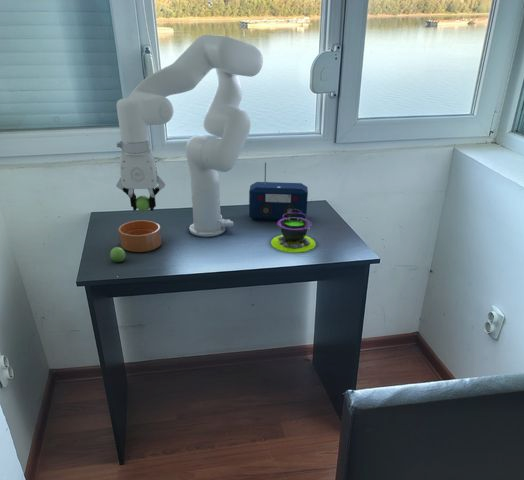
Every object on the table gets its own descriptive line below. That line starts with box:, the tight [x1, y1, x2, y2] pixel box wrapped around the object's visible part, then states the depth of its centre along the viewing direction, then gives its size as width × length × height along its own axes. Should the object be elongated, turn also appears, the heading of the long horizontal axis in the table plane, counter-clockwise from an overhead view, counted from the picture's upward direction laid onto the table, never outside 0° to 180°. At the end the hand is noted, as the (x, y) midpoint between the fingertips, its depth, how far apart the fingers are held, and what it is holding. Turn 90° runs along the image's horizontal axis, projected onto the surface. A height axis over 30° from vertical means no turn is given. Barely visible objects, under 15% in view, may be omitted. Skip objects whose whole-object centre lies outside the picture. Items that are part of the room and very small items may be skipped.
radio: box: [248, 162, 309, 222], centre depth 188 cm, size 21×9×20 cm, turn 87°
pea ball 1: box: [109, 246, 126, 263], centre depth 160 cm, size 5×5×5 cm
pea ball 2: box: [135, 195, 150, 212], centre depth 156 cm, size 5×5×5 cm
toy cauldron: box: [270, 209, 316, 254], centre depth 172 cm, size 15×15×11 cm
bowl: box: [118, 219, 163, 253], centre depth 170 cm, size 13×13×6 cm
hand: (143, 208), depth 157 cm, fingers closed on pea ball 2, 4 cm apart
